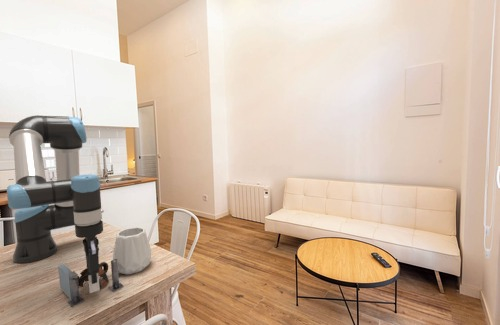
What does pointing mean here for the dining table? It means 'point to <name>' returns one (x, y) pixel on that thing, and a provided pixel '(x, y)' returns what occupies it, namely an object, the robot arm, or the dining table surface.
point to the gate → (66, 279)
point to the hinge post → (75, 293)
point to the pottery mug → (101, 273)
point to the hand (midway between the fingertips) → (94, 290)
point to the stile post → (115, 276)
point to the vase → (132, 250)
